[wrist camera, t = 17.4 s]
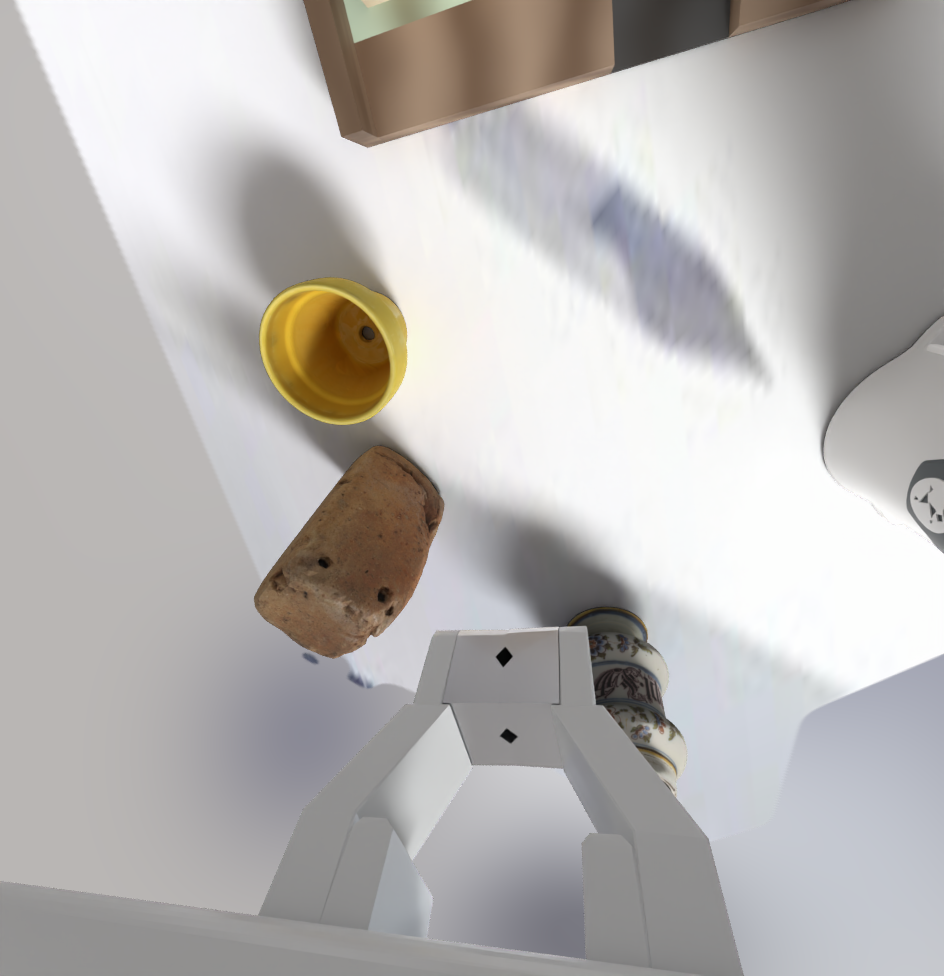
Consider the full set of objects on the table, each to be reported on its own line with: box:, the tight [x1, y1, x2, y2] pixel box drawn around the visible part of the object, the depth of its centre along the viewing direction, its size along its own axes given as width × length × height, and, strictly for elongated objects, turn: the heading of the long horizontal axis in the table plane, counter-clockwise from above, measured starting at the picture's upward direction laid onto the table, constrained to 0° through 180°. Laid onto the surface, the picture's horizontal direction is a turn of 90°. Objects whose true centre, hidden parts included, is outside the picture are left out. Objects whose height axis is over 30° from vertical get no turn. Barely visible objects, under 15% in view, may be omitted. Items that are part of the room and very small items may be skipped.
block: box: [254, 446, 444, 659], centre depth 40 cm, size 11×8×20 cm
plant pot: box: [259, 277, 407, 425], centre depth 36 cm, size 10×10×10 cm
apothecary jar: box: [567, 607, 687, 797], centre depth 48 cm, size 12×12×18 cm
